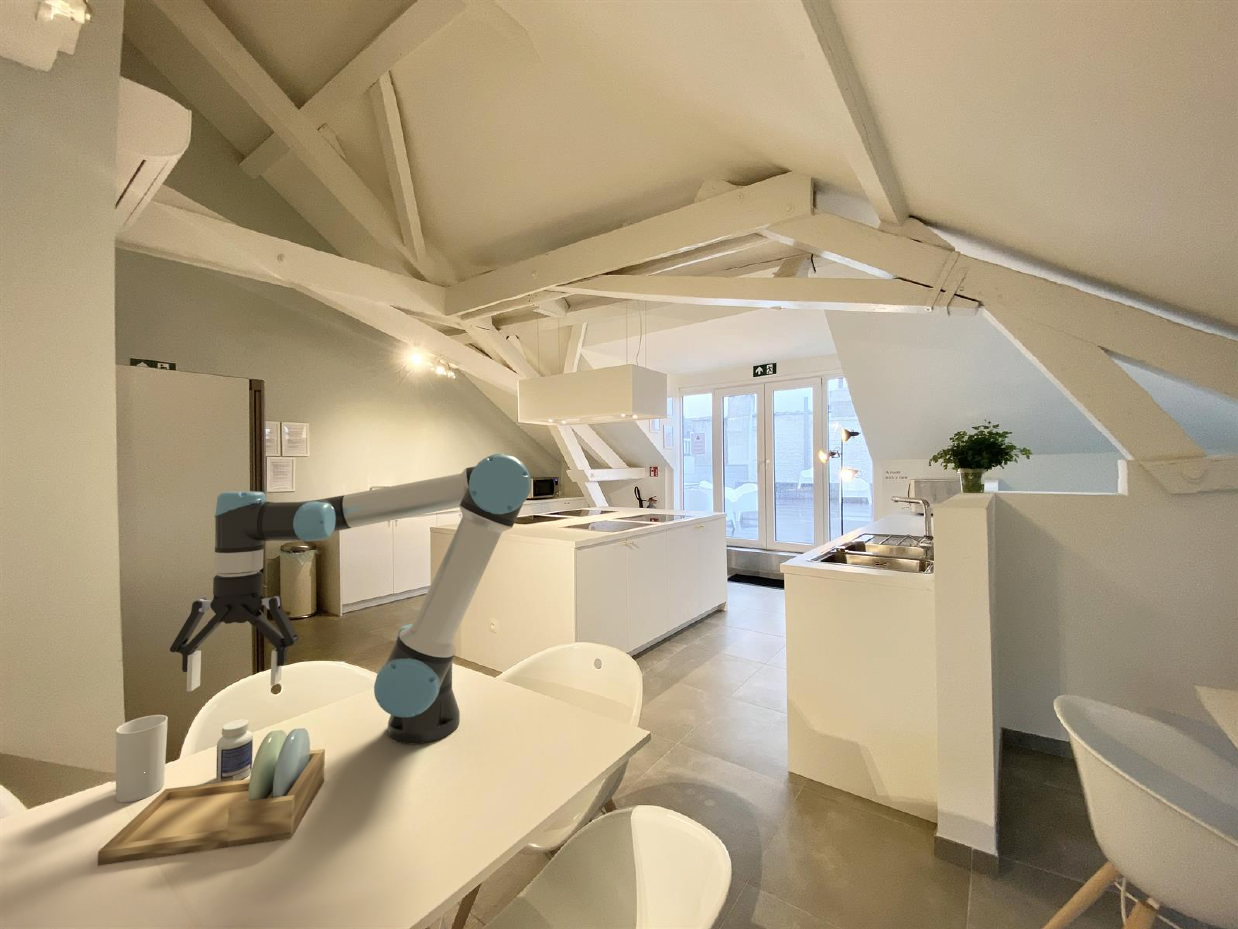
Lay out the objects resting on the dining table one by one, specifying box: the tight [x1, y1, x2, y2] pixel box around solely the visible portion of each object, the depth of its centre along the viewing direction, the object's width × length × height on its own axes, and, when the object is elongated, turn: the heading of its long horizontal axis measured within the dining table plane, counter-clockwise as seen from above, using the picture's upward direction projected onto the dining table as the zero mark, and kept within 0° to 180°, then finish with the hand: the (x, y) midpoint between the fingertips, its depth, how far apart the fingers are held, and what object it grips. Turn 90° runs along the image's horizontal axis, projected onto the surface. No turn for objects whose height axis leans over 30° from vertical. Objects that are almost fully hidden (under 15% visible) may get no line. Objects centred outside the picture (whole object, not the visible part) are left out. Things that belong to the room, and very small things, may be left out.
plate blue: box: [273, 727, 311, 798], centre depth 85 cm, size 1×12×12 cm, turn 13°
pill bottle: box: [215, 718, 254, 783], centre depth 95 cm, size 5×5×10 cm
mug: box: [115, 714, 168, 803], centre depth 92 cm, size 10×7×12 cm, turn 16°
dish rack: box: [97, 748, 326, 867], centre depth 83 cm, size 25×15×6 cm, turn 103°
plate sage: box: [248, 729, 288, 801], centre depth 85 cm, size 1×12×12 cm, turn 13°
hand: (235, 685), depth 95 cm, fingers open, 13 cm apart
